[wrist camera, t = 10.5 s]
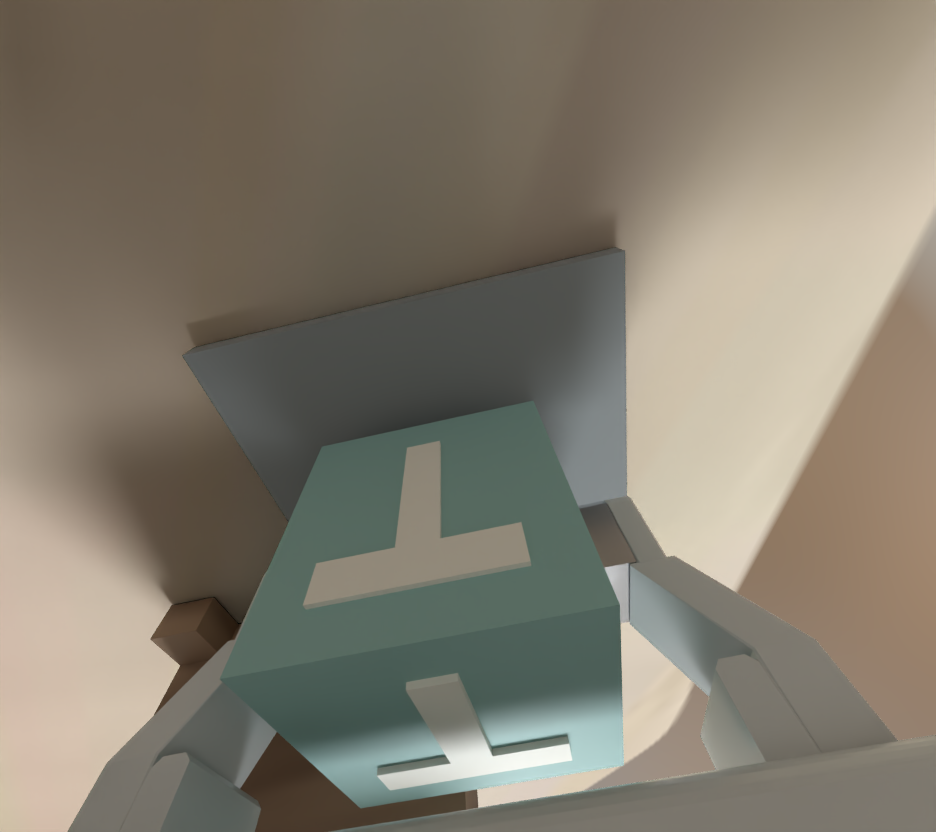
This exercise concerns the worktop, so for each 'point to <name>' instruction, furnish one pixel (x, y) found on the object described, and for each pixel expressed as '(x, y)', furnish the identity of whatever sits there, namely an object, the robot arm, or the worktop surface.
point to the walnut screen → (281, 744)
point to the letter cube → (437, 616)
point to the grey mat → (437, 372)
